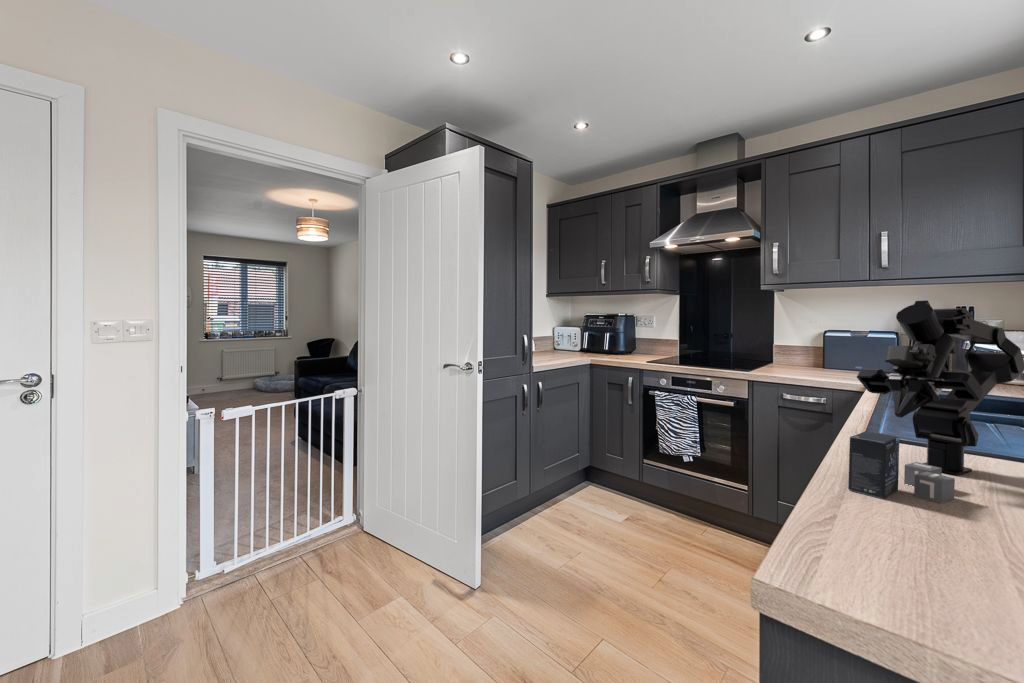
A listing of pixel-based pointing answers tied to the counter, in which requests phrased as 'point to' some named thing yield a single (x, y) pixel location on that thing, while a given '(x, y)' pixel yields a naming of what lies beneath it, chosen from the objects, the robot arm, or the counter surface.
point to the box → (873, 464)
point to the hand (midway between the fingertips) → (898, 415)
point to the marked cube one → (918, 471)
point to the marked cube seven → (934, 487)
